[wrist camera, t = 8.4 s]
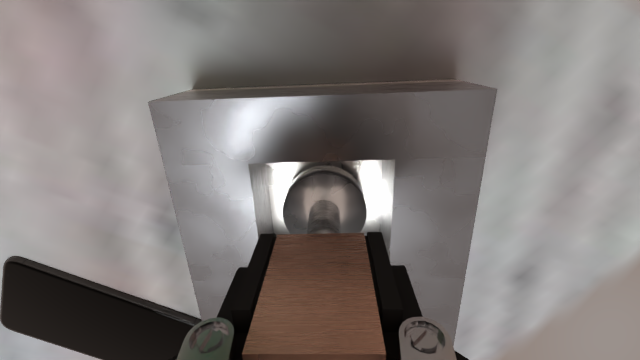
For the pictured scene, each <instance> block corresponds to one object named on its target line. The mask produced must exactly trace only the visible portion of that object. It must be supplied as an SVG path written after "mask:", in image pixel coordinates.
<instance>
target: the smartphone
mask: <svg viewBox="0 0 640 360" xmlns="http://www.w3.org/2000/svg"><path fill="white" fill-rule="evenodd" d="M0 321H1V323H2V324H3V326H4V327H6V328H8V329H10V330H12V331H15V332H18V333H21V334H24V335H27V336H30V337H33V338H36V339H39V340H43V341H46V342H49V343H52V344H55V345H58V346H61V347H64V348H67V349H70V350H73V351H76V352H80V353H83V354H86V355H89V356H92V357H95V358H98V359H101V360H169V359H170V358H172V357H174V356H175V355H177V354H179V352H180V349H181V346H182V344H183V341H184V339H185V337H186V335H187V333H188V332H189V331H190V330H191V329H192V328H193V327H194V326H195V325H197V324H198V323H200V322H202V320H200V319H197V318H194V317H192V316H189V315H186V314H183V313H180V312H177V311H174V310H172V309H169V308H166V307H163V306H160V305H157V304H155V303H152V302H149V301H146V300H143V299H140V298H137V297H134V296H132V295H129V294H126V293H123V292H120V291H117V290H114V289H111V288H109V287H106V286H103V285H100V284H97V283H94V282H91V281H89V280H86V279H83V278H80V277H77V276H74V275H71V274H68V273H66V272H63V271H60V270H57V269H54V268H51V267H48V266H46V265H43V264H40V263H37V262H34V261H31V260H28V259H25V258H22V257H17V256H14V257H10V258H9V259H7V260H6V261H5V263H4V266H3V278H2V293H1V309H0Z"/></svg>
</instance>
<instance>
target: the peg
mask: <svg viewBox="0 0 640 360" xmlns="http://www.w3.org/2000/svg"><path fill="white" fill-rule="evenodd" d="M366 218H367V208H366V203H365V199H364V194H363V191H362V188H361V186H360V184H359V183H358V181H357V180H356V179H355V178H354V177H353V176H352V175H351V174H350V173H348V172H347V171H345V170H343V169H341V168H338V167H335V166H327V165H322V166H315V167H312V168H309V169H307V170H305V171H303V172H301V173H300V174H299V175H298V176H296V177H295V179H294V180H293V181H292V183H291V184H290V186H289V188H288V191H287V194H286V197H285V200H284V204H283V220H284V223H285V226H286V228H287V229H288V231H289V232H290V234H277V238H276V241H275V245H274V248H273V251H272V255H271V258H270V261H269V265H268V268H267V271H266V275H265V278H264V282H263V285H262V288H261V292H260V295H259V298H258V302H257V305H256V308H255V312H254V315H253V319H252V322H251V325H250V329H249V332H248V335H247V339H246V342H245V345H244V349H243V352H242V357H243V360H386V351H385V345H384V340H383V334H382V329H381V323H380V318H379V312H378V307H377V301H376V296H375V290H374V285H373V279H372V274H371V268H370V263H369V257H368V252H367V246H366V241H365V235H364V233H360V232H361V231H362V229H363V227H364V225H365V222H366Z"/></svg>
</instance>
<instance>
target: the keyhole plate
mask: <svg viewBox="0 0 640 360" xmlns="http://www.w3.org/2000/svg"><path fill="white" fill-rule="evenodd" d="M496 92H497V89H495V88H491V87H487V86H482V85H478V84H474V83H470V82H465V81H461V80H457V79H448V80H422V81H396V82H370V83H344V84H319V85H293V86H267V87H241V88H215V89H192V90H188V91H185V92H181V93H177V94H174V95H170V96H167V97H163V98H160V99H156V100H153V101H149V102H148V103H149V107H150V111H151V115H152V120H153V124H154V128H155V132H156V136H157V140H158V144H159V148H160V152H161V156H162V160H163V164H164V168H165V173H166V177H167V181H168V185H169V189H170V193H171V197H172V201H173V205H174V209H175V213H176V217H177V221H178V225H179V230H180V234H181V238H182V242H183V246H184V250H185V254H186V258H187V262H188V266H189V270H190V274H191V278H192V283H193V287H194V291H195V295H196V299H197V303H198V307H199V311H200V315H201V319H202V321H204V320H206V319H210V318H216V317H217V315H218V313H219V310H220V308H221V306H222V303H223V301H224V299H225V296H226V294H227V292H228V290H229V287H230V285H231V283H232V280H233V278H234V276H235V273H236V271H237V269H238V268H239V267H248V265H249V262H250V259H251V257H252V254H253V252H254V249H255V247H256V244H257V241H258V239H259V236H260V234H273V233H275V235H276V237H277V234H290V232H289V231H288V229H287V228H286V226H285V223H284V220H283V204H284V200H285V197H286V194H287V191H288V188H289V186H290V184H291V183H292V181H293V180H294V179H295V177H296V176H298V175H299V174H300V173H301V172H303V171H305V170H307V169H309V168H312V167H315V166H322V165H327V166H335V167H338V168H341V169H343V170H345V171H347V172H348V173H350V174H351V175H352V176H353V177H354V178H355V179H356V180H357V181H358V183H359V184H360V186H361V188H362V191H363V194H364V199H365V203H366V208H367V218H366V222H365V225H364V227H363V229H362V231H361V232H360V233H364V235H365V236H367V232H382V235H383V239H384V242H385V246H386V250H387V253H388V257H389V260H390V264H391V265H404V266H405V267H406V270H407V273H408V275H409V278H410V281H411V284H412V287H413V290H414V293H415V296H416V299H417V302H418V304H419V307H420V310H421V313H422V316H423V317H425V318H429V319H432V320H434V321H436V322H438V323H439V324H440V325H442V326H443V327H444V328H445V329H446V331H447V332H448V334H449V336H450V338H451V341H452V344H453V345H454V339H455V333H456V327H457V321H458V316H459V310H460V304H461V298H462V292H463V286H464V280H465V274H466V269H467V263H468V257H469V251H470V245H471V239H472V233H473V228H474V222H475V216H476V210H477V204H478V198H479V192H480V186H481V181H482V175H483V169H484V163H485V157H486V151H487V145H488V139H489V134H490V128H491V122H492V116H493V110H494V104H495V98H496Z"/></svg>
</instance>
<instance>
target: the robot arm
mask: <svg viewBox="0 0 640 360" xmlns="http://www.w3.org/2000/svg"><path fill="white" fill-rule="evenodd" d="M276 238H277V237H276V235H275V233H273V234H260V236H259V239H258V241H257V244H256V247H255V249H254V252H253V254H252V257H251V259H250V262H249V265H248V267H239V268H238V269H237V271H236V273H235V276H234V278H233V280H232V283H231V285H230V287H229V290H228V292H227V294H226V296H225V299H224V301H223V303H222V306H221V308H220V310H219V313H218V315H217V317H216V318H210V319H206V320H204V321H202V322H200V323H198V324H197V325H195V326H194V327H193V328H192V329H191V330H190V331H189V332H188V333H187V335H186V337H185V339H184V341H183V344H182V346H181V349H180V352H179V354H177V355H175V356H174V357H172V358H170V359H169V360H243V357H242V352H243V349H244V345H245V342H246V339H247V335H248V332H249V329H250V325H251V322H252V319H253V315H254V312H255V308H256V305H257V302H258V298H259V295H260V292H261V288H262V285H263V282H264V278H265V275H266V271H267V268H268V265H269V261H270V258H271V255H272V251H273V248H274V245H275V241H276ZM365 241H366V246H367V252H368V257H369V263H370V268H371V274H372V279H373V285H374V290H375V296H376V301H377V307H378V312H379V318H380V323H381V329H382V334H383V340H384V345H385V351H386V360H469V359H467V358H465V357H464V356H462V355H461V354H459V353H458V352H456V351H454V348H453V344H452V341H451V338H450V336H449V334H448V332H447V331H446V329H445V328H444V327H443V326H442V325H440V324H439V323H438V322H436V321H434V320H432V319H429V318H425V317H423V316H422V313H421V310H420V307H419V304H418V302H417V299H416V296H415V293H414V290H413V287H412V284H411V281H410V278H409V275H408V273H407V270H406V267H405V266H404V265H391V264H390V260H389V257H388V253H387V250H386V246H385V242H384V239H383V235H382V232H367V236H365Z"/></svg>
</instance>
